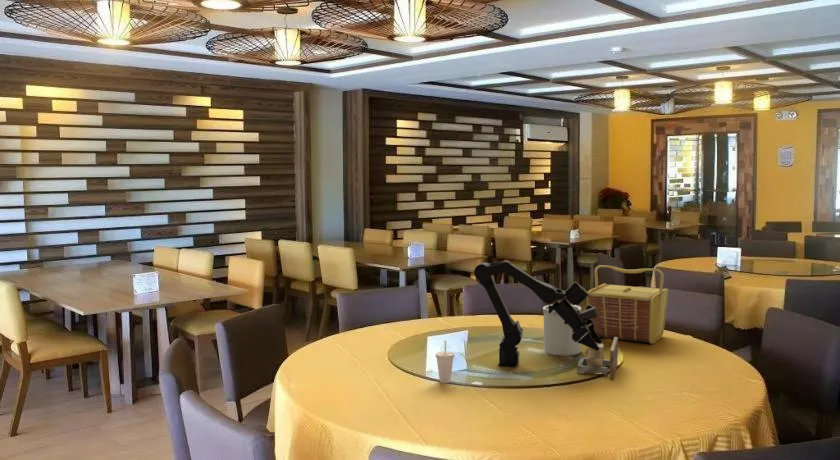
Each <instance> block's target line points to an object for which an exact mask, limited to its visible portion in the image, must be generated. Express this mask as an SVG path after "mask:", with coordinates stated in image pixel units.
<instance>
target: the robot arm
mask: <svg viewBox="0 0 840 460" xmlns="http://www.w3.org/2000/svg"><path fill="white" fill-rule="evenodd" d="M502 273H504V274H507V275H508V276H509V277H511V278H512V279H514V280H515V281H517V282H519V283H520V284H522V285H524V286H525V287H527V288H528V289H530V290H531V291H532V292H533V293H534V294H535V295H536V296H537V297H538V298H539V299H540V300H541V301H542V302H544V303H545V304H547V305H549V306H548V307H549V312H548V313H551V312H552V311H553V310H554V311H555V312H556V313H557V314H558V315H559V316H560V317H561V318H562V319H563V320H564V321H565V322H564V323H565V324H568V326H569V327H570V328H571V329H572V332H573V334H572V339H573V340H574V341H575V342H577V341H578V342H577V343H580V345H583V346H586V347H587V348H588V347H590V348H592V349H594V350H597V351H598V350H599V347H598V345H597V344H603V341H602V340H601V337H599V336H598V335H597V333H596V331H595V329H594V322H593V321H594V320H593V319H592V318H596V317H598V315H599V314H598V312H597V308H596V307H595V306H594V307H593V306H592V305H588V306H587V305H586V308H585V310H583V311H582V310H581V312H580V311H579V310H575V309H574V308H573V307H572V306H571V305H576V306H580V304H581V303H582V302H583V301H585V300H586V299H587V297H588V296H589V293H588V290H587V289H586V288H585V287H584V286H582V285H581V284H580V283H578V282H577V281H576V280H575V281H574V282H573V283H572V284H571V285H570V286H569V287H568V288H567V289H566V290H565V289H560V288H557V287H556V286H554V285H552V284H549V283H547V282H545V281H541V280H538V279H537V278H535V277H534V276H532V275H530V274H529V273H527V272H526V271H524V270H523V269H522V268H520V267H518V266H516V265H515V264H514V263H512V262H511V261H510V260H508V259H505V260H503V261H502V260H501V261H495V262H491V263H490V262H489V263H488V262H486V261H484V262H480V263H478V264H476V267H475V268H474V271H473V274H474V277H475V278H476V280H477V281H478V282H479V283H480V285H481V286H482V287H483V288H484V289H485V291H486V293H487V296H488V297H489V298H488V299H490V301H491V304H492V306H493V309H494V310H495V312H496V314H497V316H498V319H499V321H500V322H501V326H502V331H503V332H502V333H503V338H502V339H501V340H500V343H499V346H498V347H499V348H498V351H499V352H498V355H499V358H498V363H497V365H498V367H499V366H501V367H513V368H514V367H517V365H518V364H519V363H520V351H518V350H519V349H518V348H519V347H518V345H519V344H520V343H521V341H522V339H523V332H524V329H523V328H522V327H521V324H520V321H519V320H516V321H515V320H514V319H513V317H512V316H511V314H510V312H509V309H508V307H507V306H506V304H505V301H504V300H503V296H501V293H500V291H499V288H498V287H497V284H496V280H495V275H498V274H502ZM552 304H553V305H552ZM592 322H593V323H592ZM590 323H592V324H590Z"/></svg>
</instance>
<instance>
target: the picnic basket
mask: <svg viewBox="0 0 840 460" xmlns="http://www.w3.org/2000/svg"><path fill="white" fill-rule="evenodd" d="M600 268H607V269H611V270H613V271H616V272H618V273H619V272H620V273H624V274H641V273H644V272H647V271H648V272H658V273H659V274H660V280H659V288H655V287H645V286H631V285H619V284H618V285H617V284H607V283H602V284H600V285H599V276H598V271H599V270H598V269H600ZM593 272H594V273H593V275H594V287H593V288H591V289H589V290H587V292H588V293H589V296H588V297H586V303H587V304H586V307H587V306H588V305H592V306H593V307H594V306H595V307H596V308H597V312H598V314H599V315H598V317H596V318H592V319H593V320H594V321H593V322H594V329H595V331H596V333H597V335H598V336H599V338H606V339H613V340H614V337H618V340H623V341H631V342H638V343H646V344H650V345H654V344H655V343H656V342H658V340H660V339H661V338H662V336H663V335H664V330H665V326H666V325H665V324H666V318H667V316H666V315H667V311H668V310H667V309H668V299H669V289H668V288H664V283H665V282H664V281H665V274H664V272H663V270H661V269H660V268H659V269H658V268H653V267H652V268H648V267H646V268H645V267H644V268H637V269H625V268H620V267H618V266H613V265H606V264H605V265H604V264H602V265H601V264H600V265H597V266H596V267H594V271H593ZM593 322H592V323H593ZM592 323H590V324H592Z"/></svg>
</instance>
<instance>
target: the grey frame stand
mask: <svg viewBox="0 0 840 460" xmlns="http://www.w3.org/2000/svg"><path fill="white" fill-rule="evenodd" d="M618 343H619V339H618V337H614V339H613V340H612V344H611V347H610V349H609V359H604V358H603V366H610V367H596V366H585V365H588V357H580V359H579V362H578V363H577V369H576V372H584V373H602V374H604V375H603V376H608V369H609V380H614V378H615V375H616V371H617V368H616V367H618V364H619V363H618V360H619V359H618V357H619V356H618V355H619V353H618V351H619V350H618V349H619V344H618ZM617 363H618V364H617ZM584 373H583V374H584Z"/></svg>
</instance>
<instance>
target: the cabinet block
mask: <svg viewBox="0 0 840 460" xmlns="http://www.w3.org/2000/svg"><path fill="white" fill-rule="evenodd" d="M596 344H597V345H598V347H599V350H598V351H597V350H594V349H592V348H590V347H588V346H587V349H586V352H585V353H586V354H587V358H588V366H596V367H603V359H604V347H605V346H604V343H601V344H598V343H596Z"/></svg>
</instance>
